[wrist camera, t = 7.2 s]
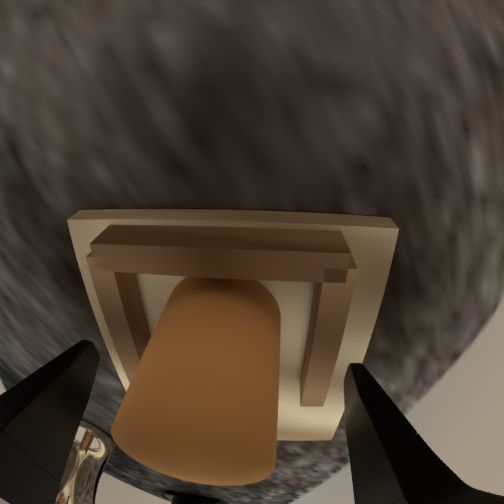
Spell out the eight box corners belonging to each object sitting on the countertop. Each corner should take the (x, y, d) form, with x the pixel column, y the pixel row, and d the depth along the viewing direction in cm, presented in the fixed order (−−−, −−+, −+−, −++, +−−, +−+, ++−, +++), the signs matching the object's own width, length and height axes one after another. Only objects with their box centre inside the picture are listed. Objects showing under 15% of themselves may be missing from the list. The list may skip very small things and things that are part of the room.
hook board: (330, 427, 17) (334, 497, 13) (146, 411, 18) (124, 475, 14) (390, 217, 11) (450, 303, 6) (80, 209, 11) (-1, 276, 7)
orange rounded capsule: (277, 358, 13) (271, 490, 8) (177, 350, 13) (137, 470, 8) (283, 271, 11) (281, 430, 6) (160, 266, 11) (86, 400, 6)
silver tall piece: (128, 458, 24) (91, 583, 10) (68, 437, 24) (24, 549, 11) (111, 426, 20) (58, 580, 7) (43, 400, 20) (-18, 532, 7)
